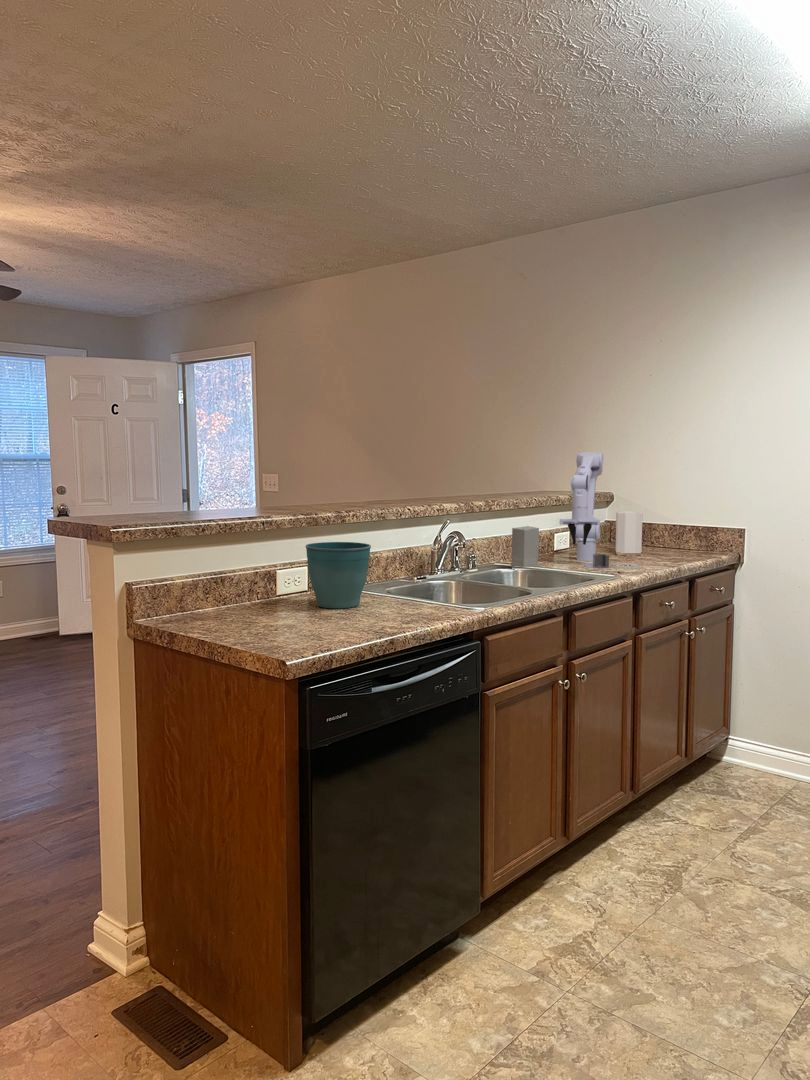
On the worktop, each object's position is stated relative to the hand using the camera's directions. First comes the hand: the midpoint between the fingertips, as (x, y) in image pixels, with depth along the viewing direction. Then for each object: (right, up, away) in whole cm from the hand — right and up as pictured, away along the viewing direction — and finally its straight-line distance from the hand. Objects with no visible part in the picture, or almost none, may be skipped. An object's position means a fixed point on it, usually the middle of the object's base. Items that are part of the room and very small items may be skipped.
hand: (579, 544), depth 298 cm
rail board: (+12, -9, 0) cm, 15 cm away
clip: (+8, -8, 0) cm, 11 cm away
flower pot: (-83, -17, -74) cm, 112 cm away
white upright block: (+31, -5, +47) cm, 57 cm away
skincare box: (-20, -10, +1) cm, 22 cm away
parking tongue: (-4, -9, +6) cm, 11 cm away
